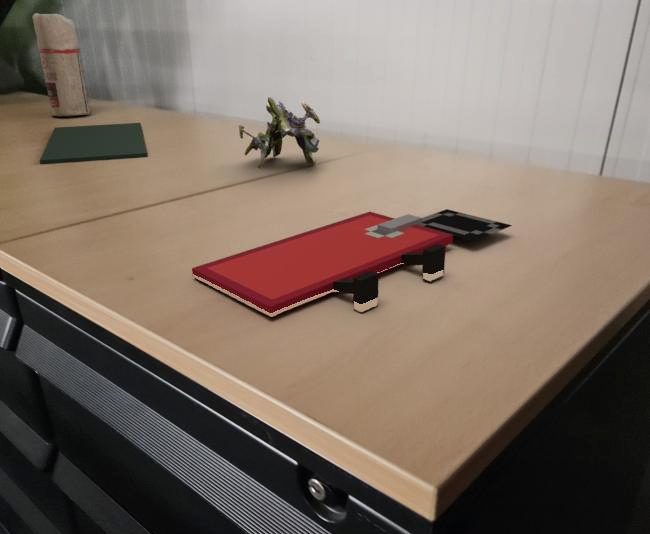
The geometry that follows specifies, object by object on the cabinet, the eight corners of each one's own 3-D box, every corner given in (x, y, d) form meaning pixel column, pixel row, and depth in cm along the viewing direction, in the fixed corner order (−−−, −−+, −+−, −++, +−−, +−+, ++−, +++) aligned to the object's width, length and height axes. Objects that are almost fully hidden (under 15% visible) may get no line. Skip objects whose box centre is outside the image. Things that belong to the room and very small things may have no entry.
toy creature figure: (309, 199, 95) (339, 142, 86) (242, 195, 91) (266, 134, 81) (292, 145, 100) (319, 86, 91) (228, 139, 95) (249, 75, 86)
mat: (40, 164, 94) (39, 160, 94) (55, 130, 119) (54, 127, 119) (148, 156, 98) (147, 152, 98) (140, 125, 123) (140, 122, 123)
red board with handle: (527, 238, 63) (414, 209, 73) (531, 211, 61) (415, 185, 71) (302, 339, 45) (193, 282, 55) (301, 305, 44) (189, 253, 54)
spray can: (50, 114, 137) (29, 13, 127) (89, 111, 140) (72, 12, 130) (51, 119, 130) (30, 13, 121) (92, 117, 133) (74, 12, 123)
